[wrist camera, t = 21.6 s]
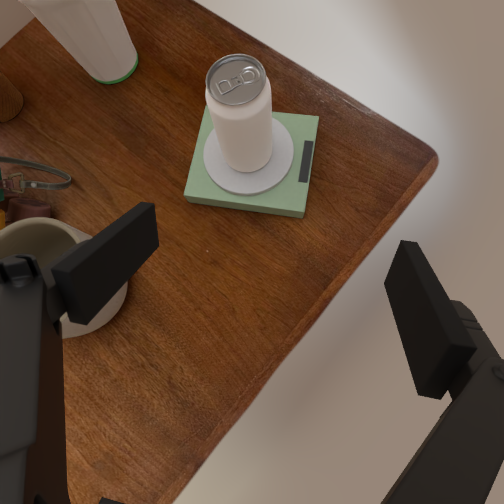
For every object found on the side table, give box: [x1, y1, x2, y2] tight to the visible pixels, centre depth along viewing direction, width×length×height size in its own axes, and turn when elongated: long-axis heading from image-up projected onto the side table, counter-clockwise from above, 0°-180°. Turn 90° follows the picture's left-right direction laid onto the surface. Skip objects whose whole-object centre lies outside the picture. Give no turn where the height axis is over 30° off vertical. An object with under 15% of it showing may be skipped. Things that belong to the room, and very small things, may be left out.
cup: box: [18, 0, 138, 84], centre depth 40 cm, size 12×12×15 cm
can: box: [206, 54, 272, 172], centre depth 33 cm, size 6×6×12 cm
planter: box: [0, 217, 128, 339], centre depth 34 cm, size 12×12×11 cm
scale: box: [184, 105, 319, 218], centre depth 40 cm, size 16×14×3 cm
